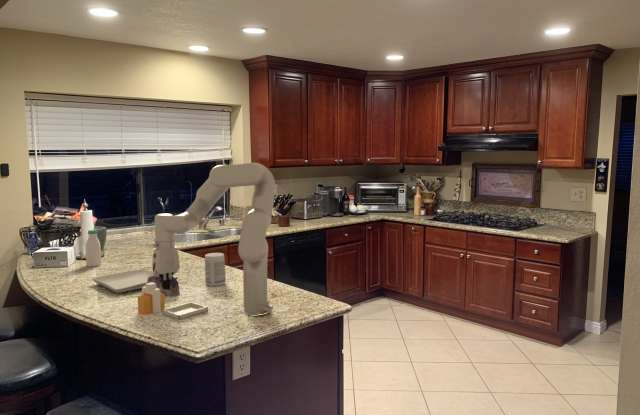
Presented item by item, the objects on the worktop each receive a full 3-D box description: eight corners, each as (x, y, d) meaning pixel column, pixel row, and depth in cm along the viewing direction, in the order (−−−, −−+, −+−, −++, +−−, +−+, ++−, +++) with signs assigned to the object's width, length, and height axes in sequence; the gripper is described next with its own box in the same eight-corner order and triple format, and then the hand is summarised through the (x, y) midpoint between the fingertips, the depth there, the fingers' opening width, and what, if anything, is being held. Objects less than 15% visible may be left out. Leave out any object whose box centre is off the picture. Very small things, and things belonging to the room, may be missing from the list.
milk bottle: (104, 265, 277) (102, 230, 275) (91, 267, 271) (90, 231, 269) (96, 263, 281) (94, 228, 279) (83, 265, 275) (81, 230, 273)
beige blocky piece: (160, 311, 193) (160, 284, 191) (154, 313, 190) (153, 286, 189) (148, 307, 198) (148, 281, 197) (142, 309, 196) (141, 282, 195)
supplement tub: (226, 281, 244) (226, 252, 242) (223, 286, 235) (223, 256, 233) (207, 281, 244) (206, 252, 242) (203, 286, 234) (202, 256, 233)
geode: (190, 295, 220) (187, 274, 218) (167, 304, 212) (164, 283, 209) (166, 285, 233) (163, 265, 231) (143, 293, 225) (140, 273, 223)
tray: (208, 311, 194) (208, 306, 194) (178, 320, 183) (178, 315, 183) (191, 306, 200) (191, 301, 200) (162, 314, 190) (162, 309, 190)
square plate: (90, 285, 236) (90, 277, 236) (144, 275, 256) (144, 268, 256) (116, 296, 218) (115, 288, 217) (171, 285, 238) (171, 277, 237)
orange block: (164, 309, 196) (164, 293, 196) (144, 315, 189) (144, 298, 189) (158, 307, 199) (157, 291, 198) (138, 312, 192) (137, 296, 191)
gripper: (153, 248, 189) (155, 294, 191) (186, 243, 200) (187, 286, 202) (143, 245, 193) (144, 291, 195) (175, 240, 205) (176, 283, 207)
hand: (166, 288), depth 199 cm, fingers closed
